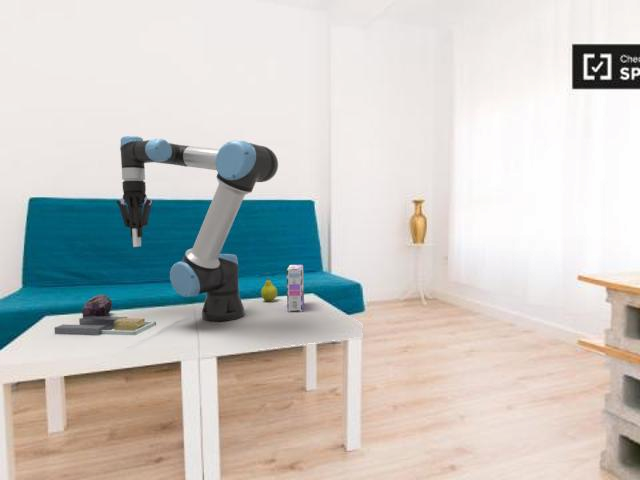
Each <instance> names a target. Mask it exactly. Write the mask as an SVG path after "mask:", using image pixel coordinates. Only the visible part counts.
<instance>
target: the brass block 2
mask: <svg viewBox="0 0 640 480" xmlns="http://www.w3.org/2000/svg"><path fill="white" fill-rule="evenodd" d="M132 318H133V319H130V320H128V321H126V322H125V324H126V331H135V330H137V329H139V328H141V327H143V326H145V321H146V319H145V318H139V317H138V318H135V317H132Z"/></svg>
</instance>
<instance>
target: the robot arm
mask: <svg viewBox="0 0 640 480" xmlns="http://www.w3.org/2000/svg"><path fill="white" fill-rule="evenodd" d="M119 150H120V161H121V163H120V164H121V180H123V181H122V192H123V195H122V198H121V199H119V200H117V201H116V204H117V206H118V207H119V209H120V210H119V211H120V213H121V217H122V220H123V225H124V227H127V228H129V229H130V238H132V246H133V248H138V247H142V238H143V235H144V234H143V233H144V232H143V228H145V227H147V226H149V225H148V224H149V219H150V213H151V207H152V205H153V203H154V199H150V198H148V197H147V194H146V190H147V189H146V182H145V180H146V174H145V173H146V171H145V169H146V168H145V164H147V163H150V164H151V163H156V164H157V163H158V164H164V165H165V164H166V165H175V166H181V167H189V168H197V169H205V170H211V171H212V170H213V171H216V172H217V174H216V180H217V182H218V185H217V188H216V190H215V192H214V195H213V197H212V200H211V203H210V205H209V208H207V209H208V210H207V213H206V215H205V218H204V220H203V222H202V225H201V226H200V230H199V232H198V234H197V236H196V239H195V242H194V244H193V246H192V248H189V249H187V250H186V251H185V253H184V255H183V258H182V260H181V261H177V262H175V263H174V264H173V265H172V267H171V268H170V271H169V280H170V282H171V287H172V288H173V289H174V291H175V292H176V293H177V294H178V295H180V296H182V297H186V298H189V297H196V296H199V295H202V294H205V299H204V304H203V306H202V310H201V319H202V320H205V321H209V322H224V321H232V320H237V319H240V318H243V317H244V316H245V308H244V307H245V306H244V305H243V302H242V299H241V296H240V292H239V291H240V288H239V287H240V286H239V282H240V281H239V261H238V257H237V255H236V254H235V253H234V254H232V253H221V252H222V249H223V246H224V244H225V242H226V241H227V240H226V239H228V238H227V237H228V235H229V233H230V230H231V228H232V227H233V223H234V221H235V218H236V216H237V215H238V211H239V210H240V207H241V205H242V203H243V200H244V198H245V196H246V195H248V194H251V193H252V192H253V189H254V188H255V186H256V183H265V182H268V181H270V180H271V179H272V178H273V177H275V175H276V174H277V172H278V168H279V160H278V157H277V155H276V154H275V152H274V151H273V150H271V149H270V148H269V147H267V146H265V145H264V146H263V145H259V144H254V143H252V142H248V141H247V140H230V141H228V142H226V143H224V144H222V146H221V147H220V148H212V147H211V148H210V147H202V146H201V147H200V146H194V145H193V146H191V145H183V144H177V143H176V144H175V143H170V142H168V141H167V140H166V139H163V138H153V139H150V140H149V139H148V140H144V138H142V137H141V136H137V135H124V136H122V137H121V138H120V148H119Z"/></svg>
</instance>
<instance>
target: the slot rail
mask: <svg viewBox="0 0 640 480" xmlns="http://www.w3.org/2000/svg"><path fill="white" fill-rule="evenodd" d="M121 318H128V317H127V316H106V317H103V316H86V317H83V316H82V317H81V318H78V319H79V324H61V325H58V326H55V327H54V335H71V336H73V335H76V336H101V335H103V334H102V330H114V321H116V320H118V319H121Z"/></svg>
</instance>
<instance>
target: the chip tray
mask: <svg viewBox="0 0 640 480" xmlns="http://www.w3.org/2000/svg"><path fill="white" fill-rule="evenodd" d="M156 325H157V321H150V320H148V321H146V320H145V326H143V327H141V328H139V329H137V330H135V331H119V330H114V329H112V330H102V334H101V335H112V336H113V335H119V336H120V335H121V336H136V335H138V334H140V333H143V332H144V331H146V330H148V329H150V328H152V327H154V326H156Z"/></svg>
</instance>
